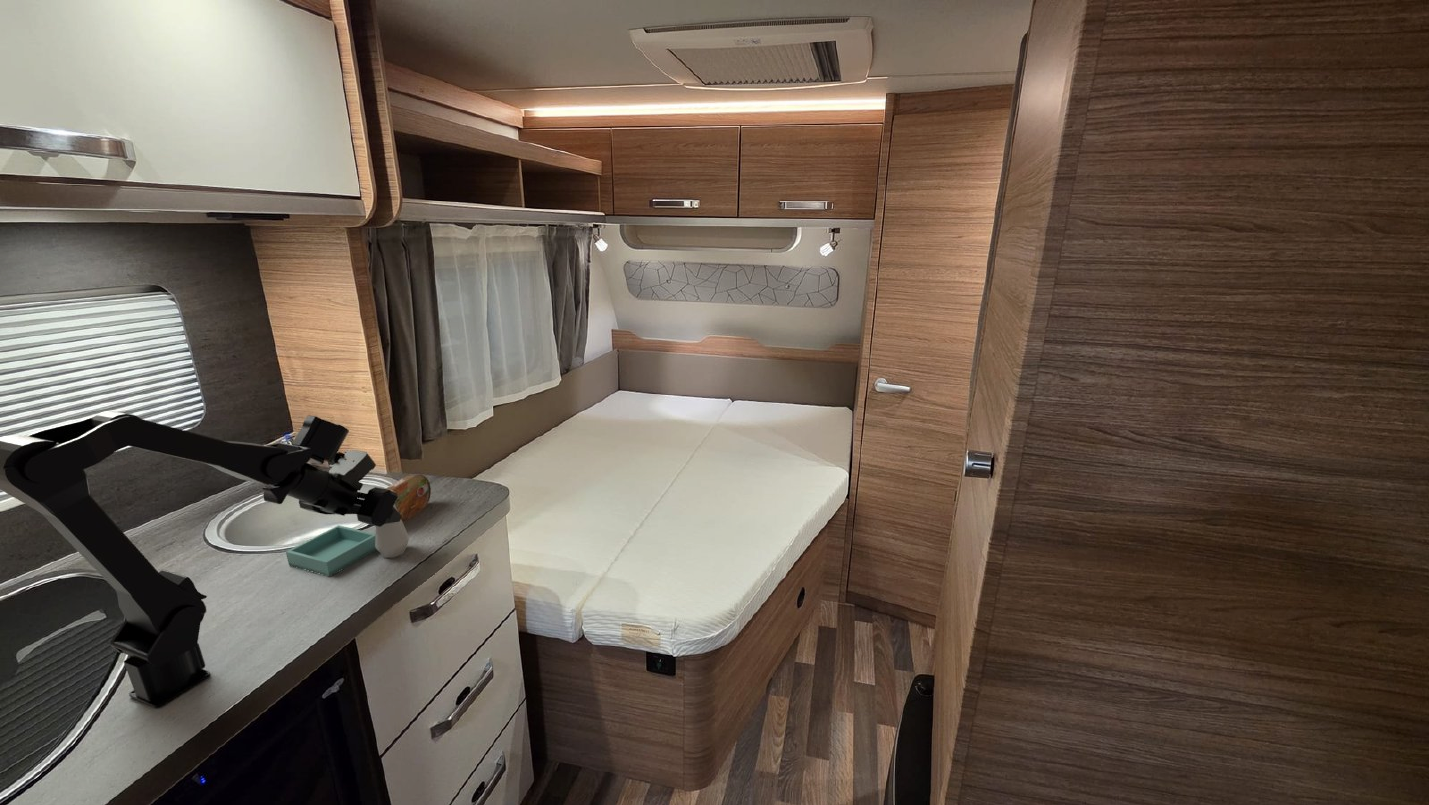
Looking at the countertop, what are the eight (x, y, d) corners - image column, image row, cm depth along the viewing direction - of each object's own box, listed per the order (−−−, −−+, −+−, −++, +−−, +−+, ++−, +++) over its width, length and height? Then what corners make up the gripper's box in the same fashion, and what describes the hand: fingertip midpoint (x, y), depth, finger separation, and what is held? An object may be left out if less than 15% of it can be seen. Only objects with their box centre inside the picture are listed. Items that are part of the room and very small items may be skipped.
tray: (329, 576, 107) (326, 562, 106) (289, 565, 110) (285, 551, 109) (380, 547, 116) (377, 534, 115) (341, 538, 120) (338, 525, 119)
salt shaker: (397, 542, 118) (387, 483, 114) (417, 548, 116) (406, 489, 112) (370, 556, 113) (358, 495, 109) (390, 563, 111) (378, 501, 107)
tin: (387, 534, 121) (380, 498, 119) (374, 533, 122) (366, 496, 119) (434, 502, 135) (428, 469, 133) (422, 501, 136) (416, 467, 134)
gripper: (378, 449, 98) (438, 482, 111) (301, 436, 104) (366, 469, 118) (344, 512, 93) (412, 539, 107) (265, 495, 100) (338, 522, 113)
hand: (382, 515), depth 111 cm, fingers open, 9 cm apart
